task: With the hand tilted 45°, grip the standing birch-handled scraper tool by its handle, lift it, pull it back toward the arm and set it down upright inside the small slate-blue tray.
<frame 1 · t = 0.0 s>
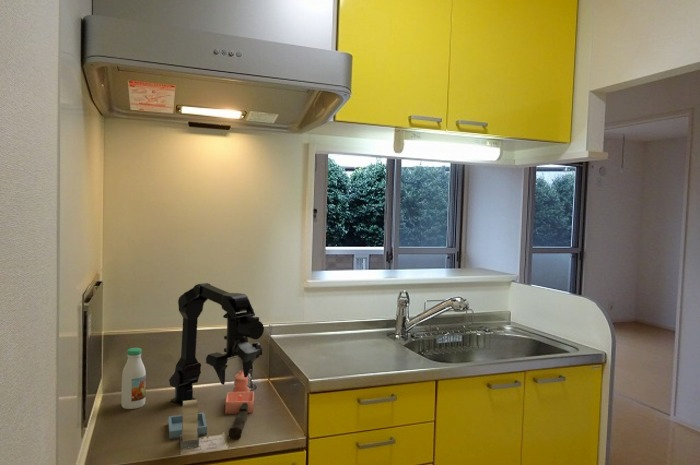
hand: (234, 380, 156), 15 cm above the counter, tool pointing down, fingers open, 9 cm apart
milk bottle: (133, 405, 169), on the counter
pottery: (240, 403, 175), on the counter
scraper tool: (189, 443, 143), on the counter
hand tool: (238, 426, 157), on the counter
tray: (187, 429, 153), on the counter
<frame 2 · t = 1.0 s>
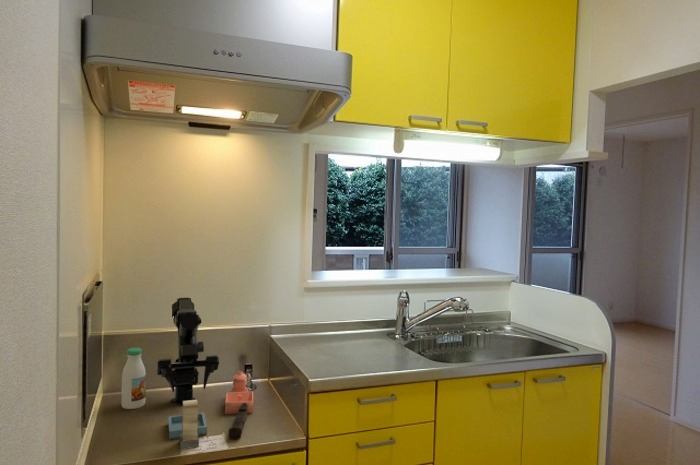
hand: (189, 390, 150), 13 cm above the counter, tool tilted 45°, fingers open, 9 cm apart
nothing on the counter moved.
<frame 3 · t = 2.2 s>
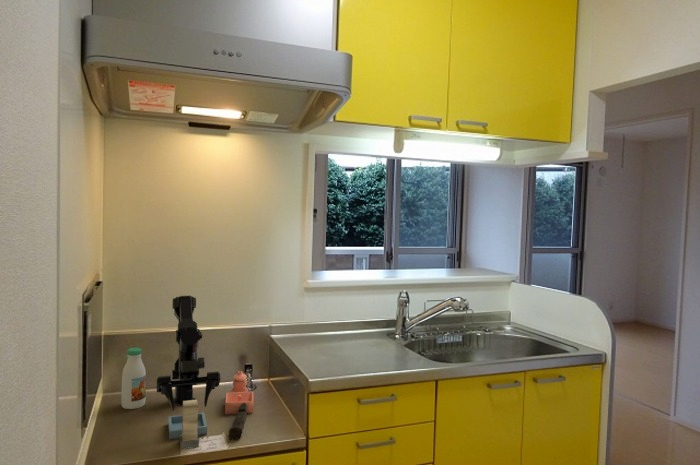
hand: (189, 408, 145), 10 cm above the counter, tool tilted 45°, fingers open, 9 cm apart
nothing on the counter moved.
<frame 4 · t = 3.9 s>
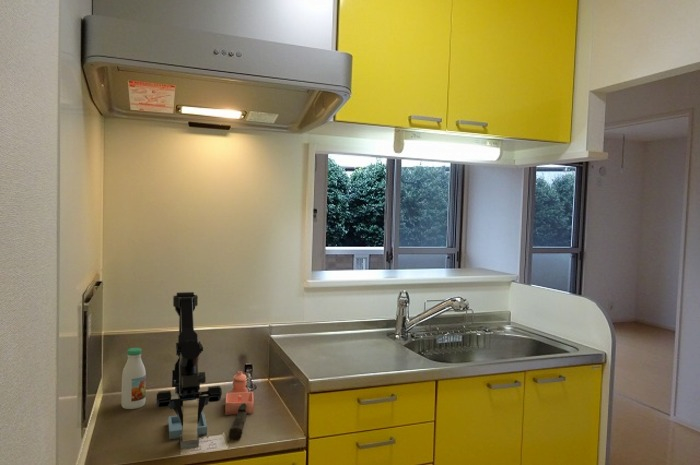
hand: (190, 424, 142), 7 cm above the counter, tool tilted 45°, fingers closed on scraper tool, 4 cm apart
pottery: (239, 404, 174), on the counter, touching hand tool
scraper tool: (189, 443, 143), on the counter, touching gripper
hand tool: (238, 427, 156), on the counter, touching pottery
everything else where it was.
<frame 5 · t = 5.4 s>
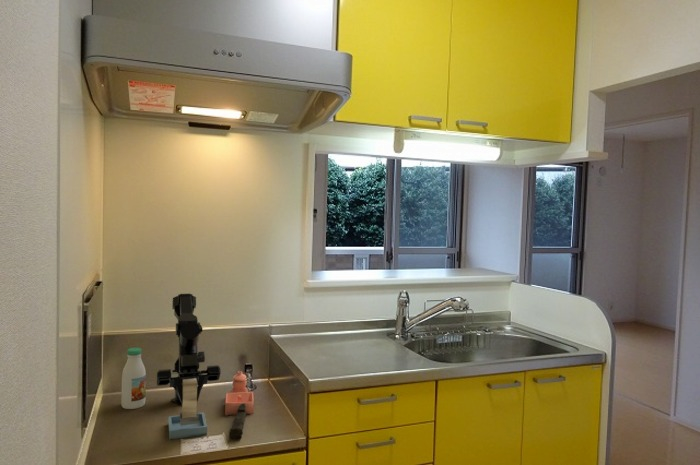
hand: (189, 401, 146), 12 cm above the counter, tool tilted 45°, fingers closed on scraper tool, 4 cm apart
pottery: (239, 404, 174), on the counter
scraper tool: (188, 420, 147), point 5 cm above the counter, touching gripper
hand tool: (237, 427, 156), on the counter
everything else where it was.
when the fingers open (9 cm above the counter, at t = 6.9 s): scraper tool drops 1 cm, resting on tray.
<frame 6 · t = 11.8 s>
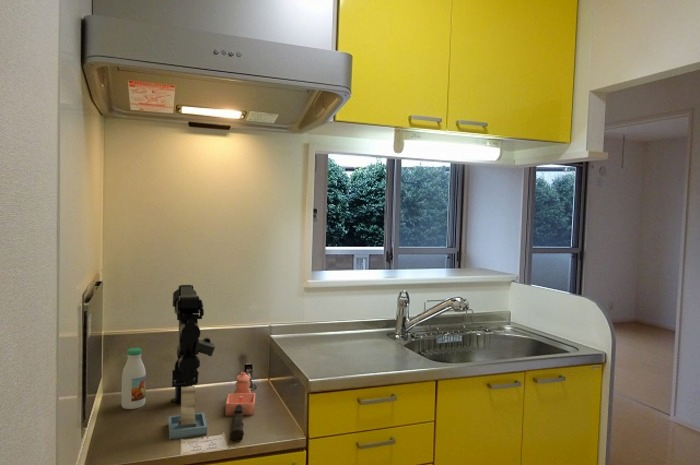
hand: (187, 380, 159), 13 cm above the counter, tool pointing down, fingers open, 9 cm apart
pottery: (241, 405, 174), on the counter, touching hand tool
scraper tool: (187, 427, 153), point 1 cm above the counter, touching tray
hand tool: (236, 429, 155), on the counter, touching pottery
everything else where it was.
at the end: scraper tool 0.0 cm off-centre on the tray, point 0.6 cm above the tray's base; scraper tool tilted 0°; the gripper is holding nothing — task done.
